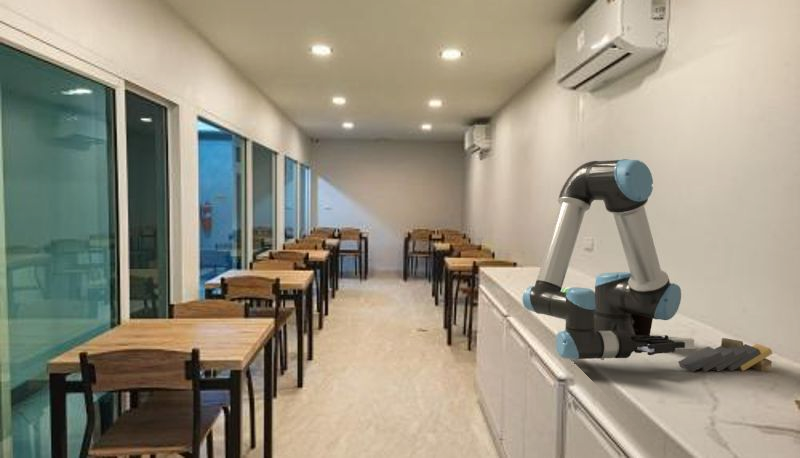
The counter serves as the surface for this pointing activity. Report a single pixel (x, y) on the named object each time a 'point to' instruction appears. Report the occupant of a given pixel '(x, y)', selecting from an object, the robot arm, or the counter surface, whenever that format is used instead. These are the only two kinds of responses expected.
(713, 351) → the domino
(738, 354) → the domino
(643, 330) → the coffee mug
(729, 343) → the stone block
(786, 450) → the counter surface
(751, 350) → the domino
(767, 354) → the domino
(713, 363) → the domino
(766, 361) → the block
